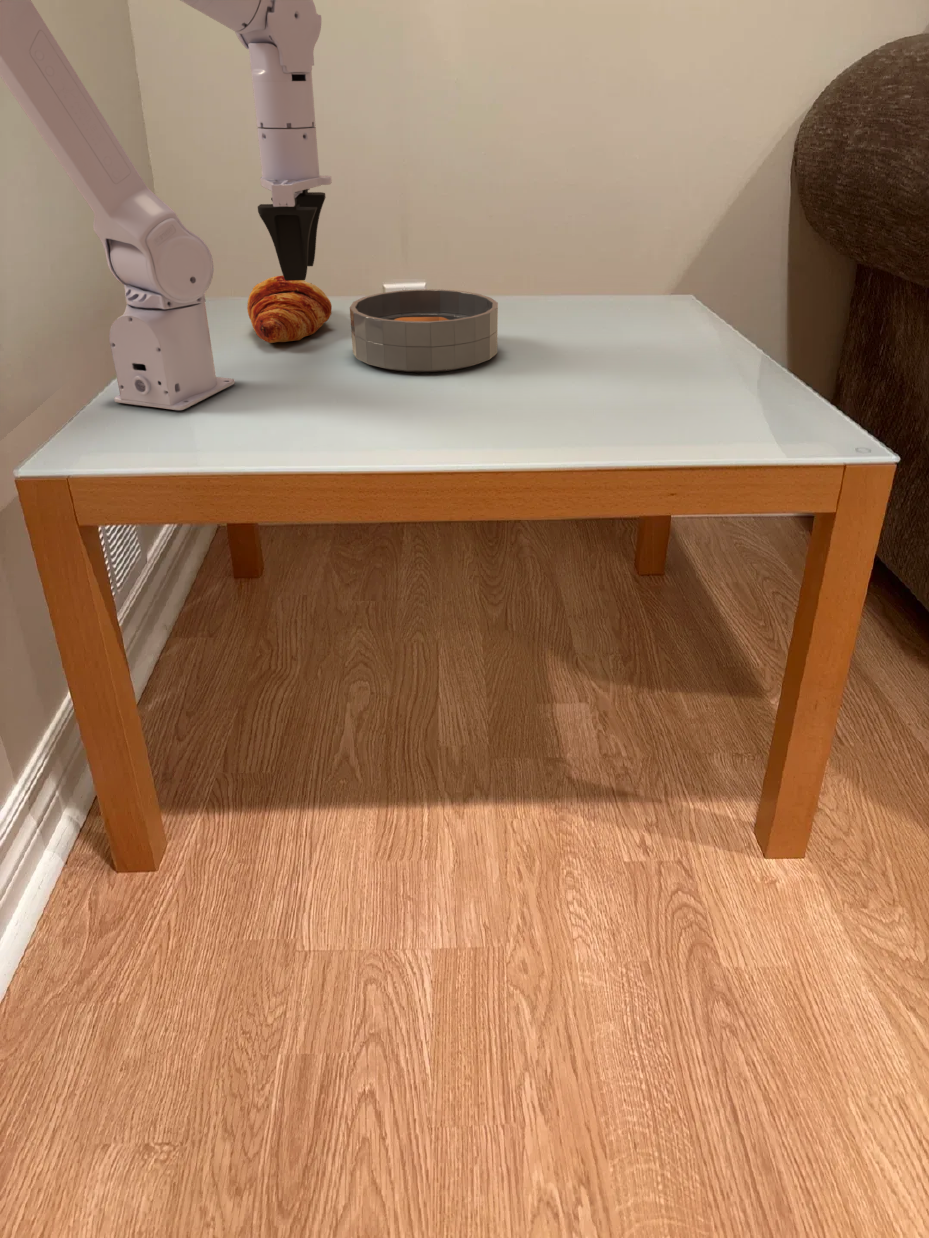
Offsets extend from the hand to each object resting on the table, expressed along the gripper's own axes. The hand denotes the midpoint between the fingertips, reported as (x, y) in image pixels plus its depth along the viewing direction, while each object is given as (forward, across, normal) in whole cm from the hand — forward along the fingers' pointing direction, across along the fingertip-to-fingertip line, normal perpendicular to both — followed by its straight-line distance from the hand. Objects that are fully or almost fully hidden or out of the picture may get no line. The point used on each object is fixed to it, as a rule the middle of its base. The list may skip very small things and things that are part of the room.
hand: (299, 272), depth 97 cm
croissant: (+10, +14, +3) cm, 17 cm away
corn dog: (+8, +2, -14) cm, 16 cm away
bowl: (+9, +2, -13) cm, 16 cm away
